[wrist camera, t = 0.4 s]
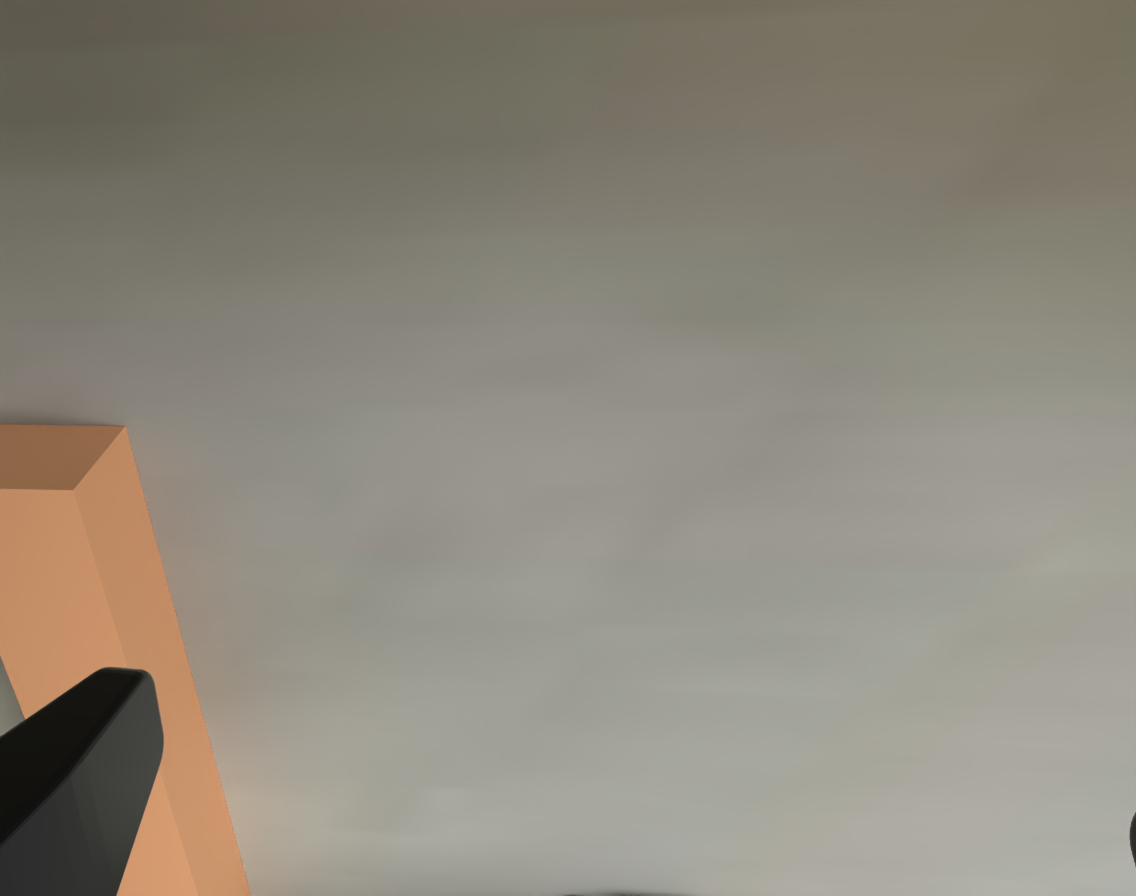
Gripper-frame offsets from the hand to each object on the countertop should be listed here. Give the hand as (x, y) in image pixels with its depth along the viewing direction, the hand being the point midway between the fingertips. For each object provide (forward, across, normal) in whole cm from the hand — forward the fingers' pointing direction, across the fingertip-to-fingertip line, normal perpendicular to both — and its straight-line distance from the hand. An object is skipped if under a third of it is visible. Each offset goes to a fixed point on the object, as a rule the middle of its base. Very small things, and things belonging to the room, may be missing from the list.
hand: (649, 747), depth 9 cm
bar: (+14, +12, +15) cm, 24 cm away
